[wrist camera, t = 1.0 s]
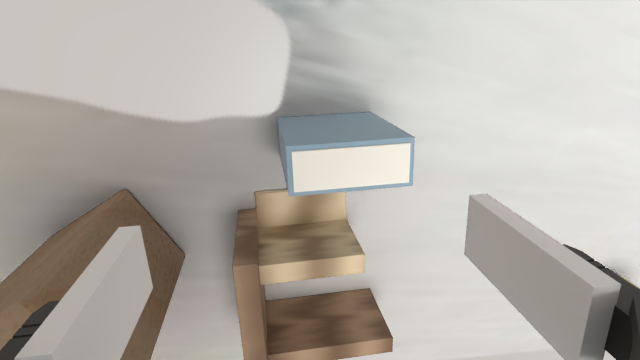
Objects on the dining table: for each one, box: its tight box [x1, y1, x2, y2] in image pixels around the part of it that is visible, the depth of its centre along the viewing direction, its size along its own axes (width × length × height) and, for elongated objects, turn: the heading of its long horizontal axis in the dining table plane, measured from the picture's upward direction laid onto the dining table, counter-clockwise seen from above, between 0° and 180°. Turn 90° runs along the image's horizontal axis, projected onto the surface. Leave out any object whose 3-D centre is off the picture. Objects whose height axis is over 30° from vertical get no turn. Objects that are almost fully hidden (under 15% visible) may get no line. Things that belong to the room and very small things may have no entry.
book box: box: [277, 112, 415, 197], centre depth 37 cm, size 10×4×13 cm, turn 92°
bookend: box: [255, 189, 365, 285], centre depth 41 cm, size 10×6×9 cm, turn 92°
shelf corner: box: [232, 209, 393, 360], centre depth 42 cm, size 15×14×12 cm
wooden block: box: [0, 190, 185, 360], centre depth 34 cm, size 10×10×20 cm
